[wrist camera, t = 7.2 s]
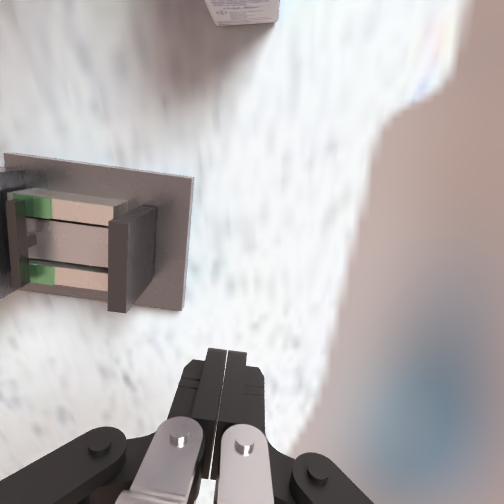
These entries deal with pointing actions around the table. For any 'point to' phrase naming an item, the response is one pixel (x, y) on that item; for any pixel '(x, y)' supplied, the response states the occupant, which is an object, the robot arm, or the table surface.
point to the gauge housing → (98, 222)
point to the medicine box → (243, 11)
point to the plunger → (87, 248)
